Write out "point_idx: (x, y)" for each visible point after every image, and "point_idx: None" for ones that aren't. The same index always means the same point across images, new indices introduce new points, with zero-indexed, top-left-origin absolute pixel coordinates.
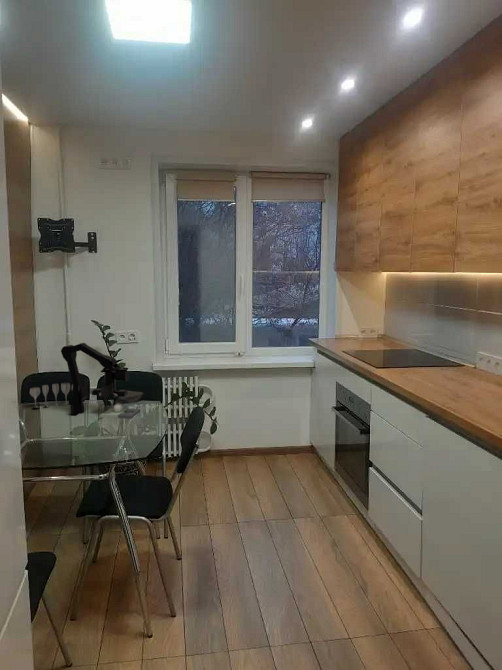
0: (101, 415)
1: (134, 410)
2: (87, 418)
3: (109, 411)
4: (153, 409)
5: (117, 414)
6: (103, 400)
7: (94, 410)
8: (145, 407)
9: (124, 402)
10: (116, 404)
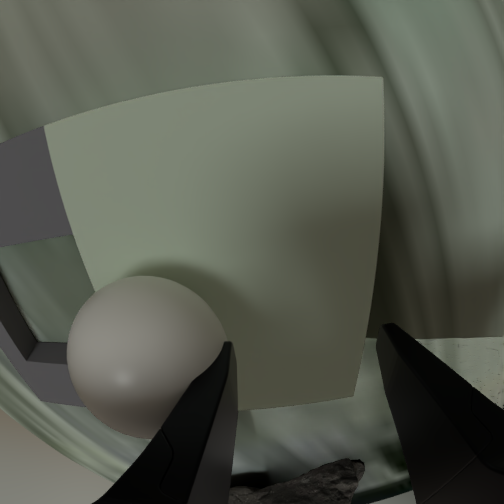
0: (355, 77)
1: (43, 369)
2: (493, 30)
3: (309, 294)
4: (33, 419)
5: (73, 166)
6: (485, 413)
7: (484, 337)
8: (112, 452)
9: (281, 486)
10: (129, 385)
